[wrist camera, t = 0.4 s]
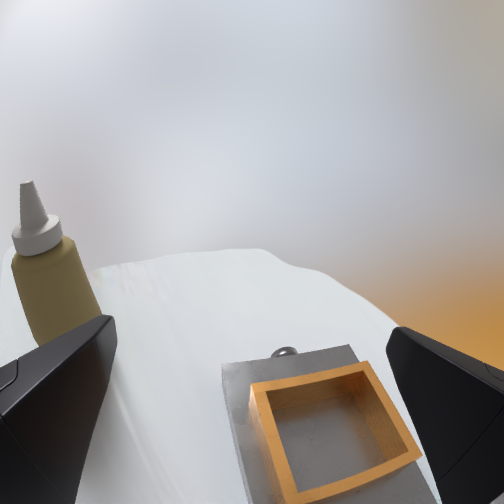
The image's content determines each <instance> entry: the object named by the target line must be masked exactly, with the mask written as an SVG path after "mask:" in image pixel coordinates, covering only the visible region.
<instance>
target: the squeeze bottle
mask: <svg viewBox="0 0 504 504" xmlns="http://www.w3.org/2000/svg"><path fill="white" fill-rule="evenodd" d="M20 219H21V223H20V224H19V225H18V226H16V227H15V229H14V230H13V232H12V239H13V242H14V246H15V249H16V251H17V252H16V254H15V255H14V257H13V259H12V264H11V268H12V272H13V276H14V280H15V283H16V287H17V290H18V294H19V297H20V300H21V303H22V306H23V309H24V312H25V315H26V318H27V321H28V324H29V326H30V329H31V332H32V334H33V337H34V339H35V341H36V342H37V344H38V345H39V347H40V346H42V345H44V344H45V343H47V342H49V341H51V340H53V339H55V338H57V337H59V336H60V335H62V334H64V333H66V332H68V331H70V330H72V329H74V328H76V327H77V326H79V325H81V324H83V323H85V322H87V321H89V320H91V319H93V318H94V317H96V316H98V315H101V314H102V313H101V310H100V307H99V305H98V303H97V300H96V298H95V295H94V293H93V291H92V288H91V286H90V283H89V281H88V278H87V276H86V273H85V270H84V268H83V265H82V262H81V260H80V257H79V254H78V251H77V248H76V245H75V242H74V241H73V240H72V239H70V238H69V237H67V236H64V235H63V234H62V229H61V224H60V219H59V217H58V216H56V215H52V214H46V212H45V209H44V207H43V205H42V202H41V200H40V197H39V195H38V192H37V190H36V187H35V184H34V182H33V180H28V181H25V182H23V183H21V184H20Z"/></svg>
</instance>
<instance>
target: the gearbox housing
mask: <svg viewBox="0 0 504 504" xmlns="http://www.w3.org/2000/svg"><path fill="white" fill-rule="evenodd" d="M222 386H223V391H224V396H225V401H226V407H227V411H228V416H229V421H230V426H231V431H232V435H233V440H234V445H235V449H236V453H237V458H238V462H239V466H240V471H241V475H242V479H243V483H244V487H245V491H246V495H247V499H248V503H249V504H437V502H436V500H435V498H434V496H433V494H432V492H431V490H430V488H429V486H428V484H427V482H426V480H425V478H424V477H423V475H422V473H421V471H420V469H419V467H418V465H417V463H416V460H417V459H419V458H420V457H421V456H422V453H421V451H420V449H419V448H418V446H417V444H416V442H415V440H414V439H413V437H412V435H411V433H410V432H409V430H408V428H407V426H406V425H405V423H404V421H403V419H402V418H401V416H400V414H399V412H398V411H397V409H396V407H395V406H394V404H393V402H392V400H391V399H390V397H389V395H388V394H387V392H386V390H385V389H384V387H383V385H382V384H381V382H380V380H379V379H378V377H377V375H376V374H375V372H374V370H373V369H372V367H371V365H370V364H369V362H368V361H363V362H359V360H358V359H357V357H356V355H355V354H354V352H353V350H352V349H351V347H350V345H349V344H348V345H343V346H338V347H333V348H328V349H323V350H318V351H312V352H306V353H301V354H298V353H297V351H296V349H295V348H293V347H283V348H280V349H278V350H276V351H275V352H274V353H273V354H272V355H271V358H268V359H261V360H253V361H245V362H236V363H226V364H222Z"/></svg>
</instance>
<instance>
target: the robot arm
mask: <svg viewBox="0 0 504 504" xmlns="http://www.w3.org/2000/svg"><path fill="white" fill-rule="evenodd" d="M116 348H117V334H116V327H115V320H114V317H113V316H110V315H103V314H101V315H98V316H96V317H94V318H93V319H91V320H89V321H87V322H85V323H83V324H81V325H79V326H77V327H76V328H74V329H72V330H70V331H68V332H66V333H64V334H62V335H60V336H59V337H57V338H55V339H53V340H51V341H49V342H47V343H45V344H44V345H42V346H40V347H38V348H36V349H34V350H32V351H31V352H29V353H27V354H25V355H23V356H21V357H19V358H18V360H17V359H16V360H14V361H12V362H10V363H8V364H7V365H5V366H3V367H1V368H0V504H75V501H76V496H77V491H78V487H79V483H80V479H81V475H82V471H83V467H84V463H85V459H86V455H87V452H88V448H89V445H90V441H91V438H92V434H93V431H94V428H95V424H96V421H97V418H98V415H99V412H100V408H101V405H102V402H103V399H104V396H105V393H106V390H107V387H108V383H109V378H110V374H111V369H112V365H113V360H114V356H115V352H116ZM386 354H387V357H388V360H389V363H390V366H391V369H392V372H393V375H394V378H395V381H396V384H397V386H398V389H399V391H400V394H401V396H402V398H403V401H404V403H405V405H406V407H407V410H408V412H409V415H410V417H411V419H412V422H413V424H414V427H415V429H416V432H417V434H418V437H419V439H420V442H421V444H422V447H423V449H424V452H425V455H426V457H427V460H428V463H429V465H430V468H431V471H432V474H433V476H434V479H435V482H436V486H437V489H438V492H439V495H440V498H441V501H442V504H490V503H491V504H504V371H502V370H499V369H497V368H495V367H493V366H490V365H488V364H486V363H483V362H482V361H479V360H477V359H475V358H473V357H471V356H468V355H466V354H464V353H462V352H460V351H457V350H455V349H453V348H451V347H449V346H446V345H444V344H442V343H440V342H438V341H436V340H433V339H431V338H429V337H427V336H425V335H422V334H420V333H418V332H416V331H414V330H411V329H409V328H407V327H396V328H394V329H393V331H392V333H391V336H390V339H389V341H388V343H387V346H386Z"/></svg>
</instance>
